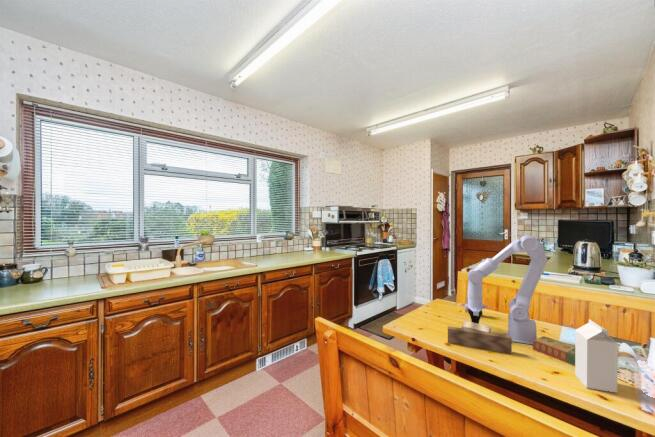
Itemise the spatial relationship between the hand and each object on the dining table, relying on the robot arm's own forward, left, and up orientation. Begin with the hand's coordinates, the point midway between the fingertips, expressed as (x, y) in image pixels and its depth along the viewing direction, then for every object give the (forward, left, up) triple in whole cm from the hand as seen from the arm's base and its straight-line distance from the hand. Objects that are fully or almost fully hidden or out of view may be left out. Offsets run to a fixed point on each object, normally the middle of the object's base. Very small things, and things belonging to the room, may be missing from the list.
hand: (475, 326), depth 122 cm
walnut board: (0, +16, -2) cm, 16 cm away
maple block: (0, +6, -2) cm, 7 cm away
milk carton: (-31, +27, -2) cm, 42 cm away
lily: (-1, -21, -2) cm, 21 cm away
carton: (-28, +12, -3) cm, 30 cm away
